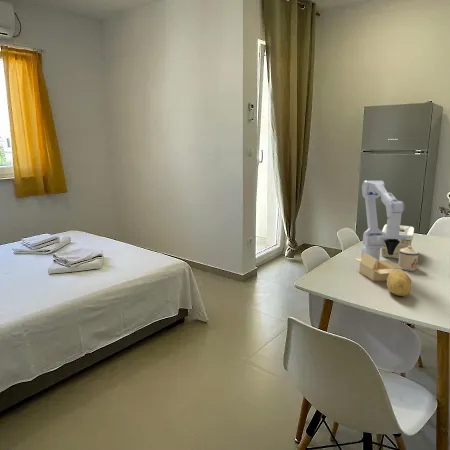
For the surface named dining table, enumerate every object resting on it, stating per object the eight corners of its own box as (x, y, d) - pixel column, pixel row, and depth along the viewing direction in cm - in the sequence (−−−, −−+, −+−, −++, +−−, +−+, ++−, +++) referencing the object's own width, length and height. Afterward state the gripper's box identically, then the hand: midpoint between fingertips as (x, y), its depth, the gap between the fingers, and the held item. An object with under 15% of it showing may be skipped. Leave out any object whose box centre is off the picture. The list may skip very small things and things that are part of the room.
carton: (354, 268, 185) (355, 253, 183) (380, 267, 187) (382, 252, 186) (379, 285, 164) (380, 268, 162) (409, 283, 166) (411, 266, 164)
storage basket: (410, 261, 198) (413, 235, 195) (378, 256, 206) (380, 231, 202) (411, 250, 219) (414, 226, 216) (382, 246, 226) (384, 223, 223)
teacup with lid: (414, 272, 180) (417, 249, 178) (395, 268, 186) (397, 246, 184) (420, 266, 190) (423, 244, 187) (401, 262, 195) (404, 241, 193)
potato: (413, 291, 157) (415, 270, 155) (407, 302, 146) (409, 280, 144) (388, 285, 163) (390, 265, 161) (380, 296, 151) (382, 274, 149)
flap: (361, 262, 178) (359, 262, 178) (365, 253, 177) (364, 252, 177) (373, 269, 168) (371, 269, 168) (377, 259, 167) (376, 259, 167)
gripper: (384, 229, 166) (381, 257, 169) (412, 228, 169) (409, 256, 172) (375, 225, 173) (372, 253, 176) (402, 224, 176) (399, 251, 179)
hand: (390, 254), depth 174 cm, fingers closed
